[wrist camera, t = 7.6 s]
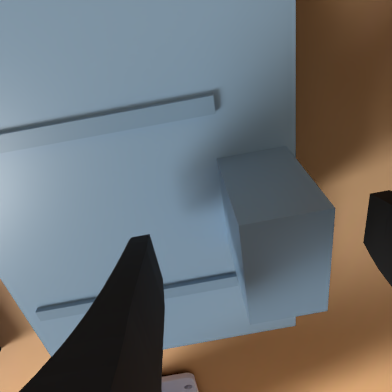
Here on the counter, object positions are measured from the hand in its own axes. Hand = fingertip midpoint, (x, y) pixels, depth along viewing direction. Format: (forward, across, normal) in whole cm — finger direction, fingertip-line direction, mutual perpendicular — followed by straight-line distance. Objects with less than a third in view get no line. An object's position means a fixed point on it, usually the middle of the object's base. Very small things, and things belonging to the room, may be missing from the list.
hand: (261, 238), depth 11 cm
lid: (+3, +4, 0) cm, 5 cm away
